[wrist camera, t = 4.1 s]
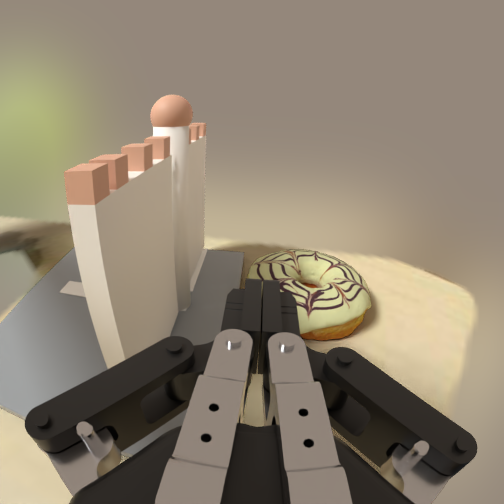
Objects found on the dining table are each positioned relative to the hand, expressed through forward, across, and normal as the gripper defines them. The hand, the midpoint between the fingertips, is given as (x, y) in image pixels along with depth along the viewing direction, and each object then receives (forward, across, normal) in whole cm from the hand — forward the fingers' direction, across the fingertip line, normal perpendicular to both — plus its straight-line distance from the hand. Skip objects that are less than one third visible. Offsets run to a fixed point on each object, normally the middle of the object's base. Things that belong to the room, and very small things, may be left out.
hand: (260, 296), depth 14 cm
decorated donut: (+11, -4, +8) cm, 14 cm away
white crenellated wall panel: (+2, +7, +7) cm, 10 cm away
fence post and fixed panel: (+13, +7, +7) cm, 16 cm away
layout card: (+7, +12, +8) cm, 16 cm away
